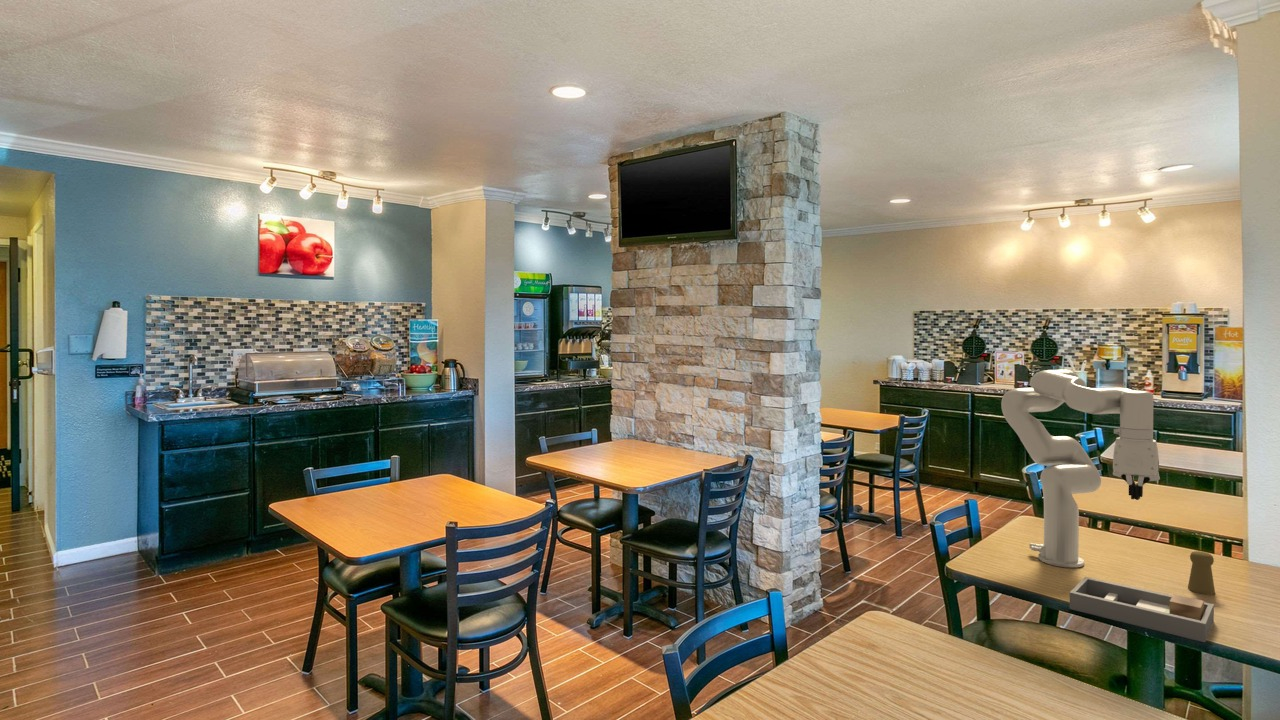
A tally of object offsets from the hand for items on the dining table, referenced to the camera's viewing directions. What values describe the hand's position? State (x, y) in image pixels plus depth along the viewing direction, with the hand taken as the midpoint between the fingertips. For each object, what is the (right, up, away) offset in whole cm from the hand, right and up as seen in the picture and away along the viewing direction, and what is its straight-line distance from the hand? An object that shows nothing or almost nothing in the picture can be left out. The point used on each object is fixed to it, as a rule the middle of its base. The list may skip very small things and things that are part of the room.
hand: (1135, 498), depth 188 cm
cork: (+20, -27, +2) cm, 34 cm away
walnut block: (-3, -26, -21) cm, 33 cm away
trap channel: (-9, -28, -14) cm, 32 cm away
